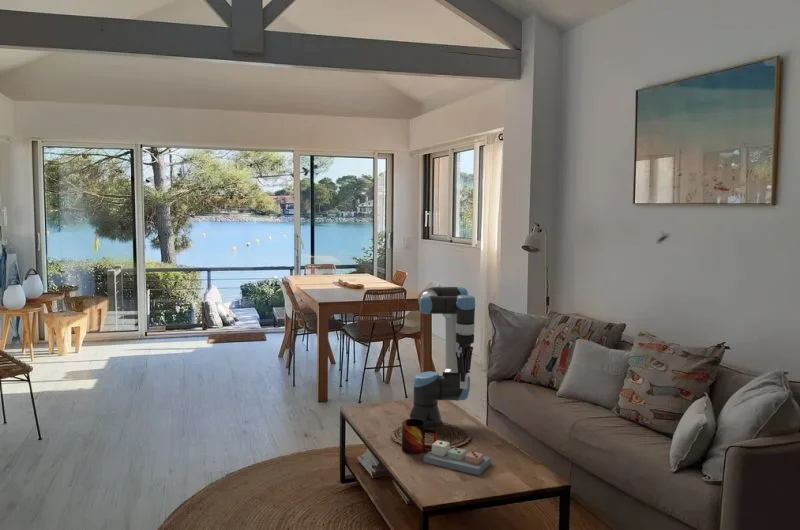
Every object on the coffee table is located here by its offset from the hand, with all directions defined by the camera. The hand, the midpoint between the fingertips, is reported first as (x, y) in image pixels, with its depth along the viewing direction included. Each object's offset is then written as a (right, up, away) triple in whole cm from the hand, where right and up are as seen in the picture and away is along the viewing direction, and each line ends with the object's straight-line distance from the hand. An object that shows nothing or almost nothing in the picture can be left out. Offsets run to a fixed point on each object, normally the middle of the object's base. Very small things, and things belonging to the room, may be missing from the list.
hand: (463, 388), depth 269 cm
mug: (-19, -28, +6) cm, 34 cm away
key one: (-10, -26, -3) cm, 28 cm away
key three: (+3, -29, -10) cm, 31 cm away
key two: (-3, -28, -7) cm, 29 cm away
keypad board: (-3, -29, -7) cm, 30 cm away
